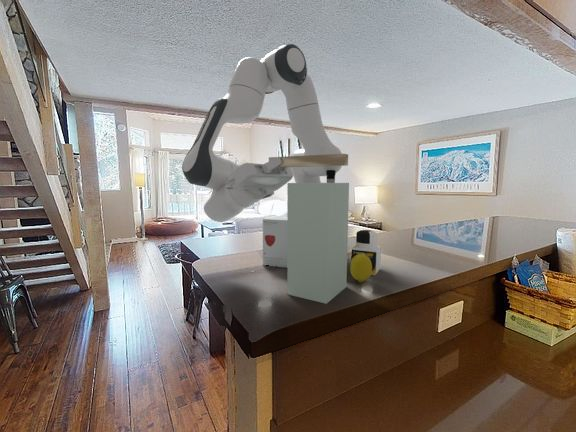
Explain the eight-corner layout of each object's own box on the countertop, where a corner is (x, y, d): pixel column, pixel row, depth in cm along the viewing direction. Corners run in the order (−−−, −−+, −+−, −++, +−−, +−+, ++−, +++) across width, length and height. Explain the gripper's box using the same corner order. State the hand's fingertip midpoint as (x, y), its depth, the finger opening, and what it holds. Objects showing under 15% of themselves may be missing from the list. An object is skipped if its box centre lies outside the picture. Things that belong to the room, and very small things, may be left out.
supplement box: (261, 265, 92) (261, 218, 90) (271, 258, 100) (271, 215, 98) (289, 268, 89) (289, 219, 87) (297, 260, 97) (297, 216, 96)
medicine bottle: (350, 272, 85) (351, 231, 84) (357, 265, 92) (358, 228, 90) (375, 275, 82) (377, 233, 81) (380, 269, 88) (381, 229, 87)
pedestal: (311, 279, 79) (312, 182, 75) (346, 286, 73) (349, 182, 70) (287, 294, 68) (287, 183, 65) (326, 303, 63) (328, 183, 60)
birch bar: (274, 167, 75) (274, 158, 75) (348, 165, 65) (348, 154, 65) (268, 167, 73) (268, 157, 73) (344, 164, 63) (344, 153, 63)
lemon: (345, 280, 78) (346, 251, 77) (363, 278, 80) (364, 249, 79) (357, 287, 73) (358, 256, 72) (376, 284, 75) (377, 254, 74)
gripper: (215, 177, 71) (253, 144, 64) (265, 177, 88) (300, 152, 81) (225, 199, 70) (265, 169, 63) (274, 196, 87) (310, 172, 80)
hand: (285, 160), depth 72 cm, fingers closed on birch bar, 2 cm apart
